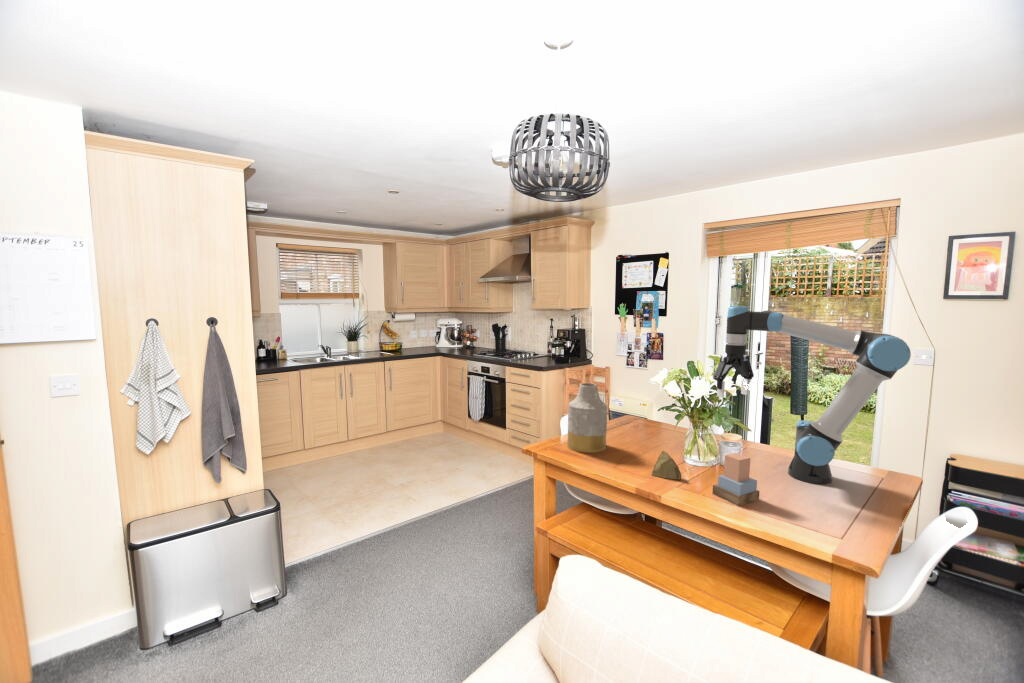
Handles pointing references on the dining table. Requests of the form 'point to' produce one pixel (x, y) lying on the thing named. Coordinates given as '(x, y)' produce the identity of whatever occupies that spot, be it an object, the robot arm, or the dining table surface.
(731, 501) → the tower base
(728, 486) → the tower top
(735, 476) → the block
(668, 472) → the rock
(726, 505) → the dining table surface
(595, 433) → the vase
